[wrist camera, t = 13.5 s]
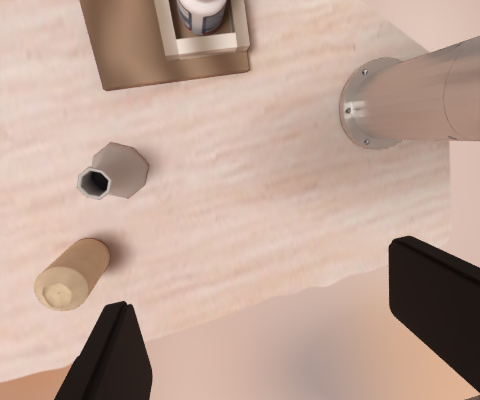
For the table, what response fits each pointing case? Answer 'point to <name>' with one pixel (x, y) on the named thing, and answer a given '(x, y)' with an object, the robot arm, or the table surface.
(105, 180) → the flask
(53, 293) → the candle
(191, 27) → the pill bottle
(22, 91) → the table surface
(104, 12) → the socket board
